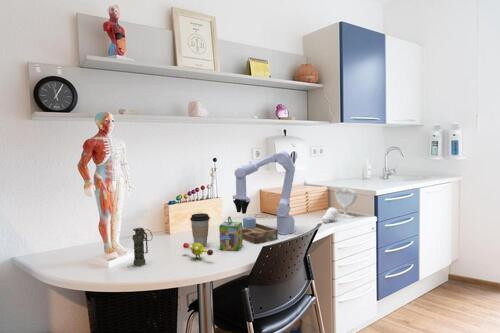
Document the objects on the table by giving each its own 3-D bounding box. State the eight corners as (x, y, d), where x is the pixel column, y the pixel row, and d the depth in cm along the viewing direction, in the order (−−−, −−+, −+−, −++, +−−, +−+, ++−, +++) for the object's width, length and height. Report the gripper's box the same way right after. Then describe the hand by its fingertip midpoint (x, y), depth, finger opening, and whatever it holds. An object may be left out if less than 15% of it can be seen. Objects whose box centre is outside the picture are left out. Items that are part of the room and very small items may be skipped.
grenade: (135, 268, 136) (133, 231, 135) (129, 264, 141) (128, 228, 140) (155, 263, 142) (154, 227, 141) (149, 259, 147) (148, 225, 146)
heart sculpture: (333, 214, 233) (334, 188, 232) (339, 213, 236) (339, 187, 234) (352, 218, 220) (352, 190, 219) (357, 217, 223) (357, 189, 222)
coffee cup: (187, 247, 163) (186, 216, 162) (196, 242, 172) (196, 212, 171) (204, 249, 160) (204, 217, 159) (213, 243, 169) (213, 213, 168)
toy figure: (179, 256, 151) (178, 240, 150) (188, 252, 155) (188, 238, 155) (206, 265, 139) (206, 248, 139) (216, 261, 144) (216, 245, 143)
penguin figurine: (338, 207, 211) (326, 212, 204) (339, 220, 212) (327, 225, 205) (330, 206, 216) (318, 210, 209) (331, 219, 217) (319, 224, 210)
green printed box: (238, 251, 157) (238, 219, 156) (219, 250, 159) (218, 218, 158) (243, 245, 166) (242, 215, 165) (224, 244, 168) (224, 214, 167)
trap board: (252, 230, 193) (252, 221, 192) (277, 239, 175) (277, 229, 175) (231, 234, 185) (231, 225, 184) (255, 244, 167) (255, 234, 166)
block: (250, 225, 191) (250, 217, 191) (255, 227, 187) (255, 218, 187) (243, 227, 188) (242, 218, 188) (248, 229, 184) (248, 219, 184)
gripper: (228, 188, 196) (228, 211, 197) (242, 191, 184) (243, 215, 185) (238, 187, 200) (238, 210, 201) (253, 189, 188) (253, 214, 189)
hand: (241, 212), depth 193 cm, fingers open, 4 cm apart
